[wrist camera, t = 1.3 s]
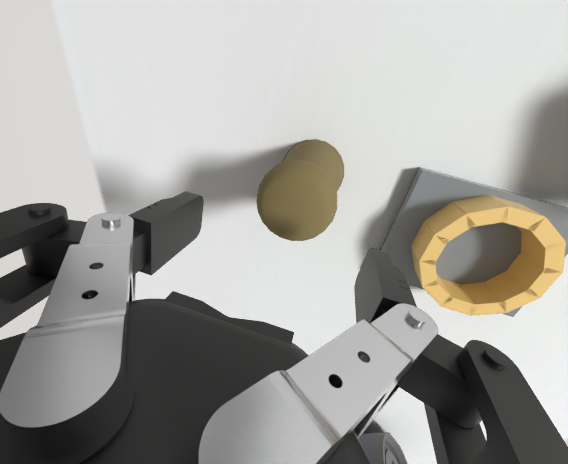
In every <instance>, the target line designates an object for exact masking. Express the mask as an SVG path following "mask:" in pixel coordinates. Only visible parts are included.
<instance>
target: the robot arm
mask: <svg viewBox="0 0 568 464" xmlns="http://www.w3.org/2000/svg"><path fill="white" fill-rule="evenodd" d="M66 211H67V210H66V208H65V207H63V206H61V205H57V204H51V203H36V204H29V205H24V206H20V207H17V208H14V209H11V210H8V211H4V212H2V213H0V258H2V257H4V256H6V255H8V254H10V253H12V252H14V251H17V250H19V249H21V248H22V251H23V254H24V258H25V262H26V265H24V266H22V267H20V268H19V269H17V270H15V271H13V272H11V273H9V274H7V275H5V276H3V277H1V278H0V328H1V327H2V326H4V325H5V324H7V323H8V322H10V321H11V320H13V319H14V318H16V317H17V316H19V315H20V314H22V313H23V312H25V311H26V310H28V309H29V308H31V307H32V306H34V305H35V304H37V303H38V302H40V301H41V300H43V299H44V298H46V297H47V296H49V297H48V300H47V302H46V305H45V307H44V310H43V312H42V315H41V317H40V320H39V322H38V324H37V325H36V326H35V327H33V328H31V329H29V330H28V331H27V332H26V333H23V334H19V335H16V336H13V337H9V338H6V339H3V340H0V464H372V463H371V461H370V459H369V457H368V455H367V453H366V452H365V450H364V448H363V446H362V444H361V443H360V441H359V438H360V436H361V435H362V434H363V432H364V431H365V430H366V428H367V427H368V426H369V424H370V423H371V422H372V421H373V419H374V418H375V417H376V416H377V415H378V413H379V412H380V411H381V410H382V409H383V407H384V406H385V405H386V404H387V403H388V401H389V400H390V399H391V398H392V397H393V395H394V394H395V393H396V392H397V391H398V389H399V388H402V389H403V390H405V391H406V392H408V393H409V394H411V395H413V396H414V397H416V398H417V399H419V400H420V401H422V402H423V403H424V405H425V410H426V414H427V419H428V424H429V428H430V433H431V437H432V442H433V446H434V451H435V455H436V460H437V464H568V447H567V445H566V443H565V442H564V440H563V439H562V437H561V435H560V434H559V432H558V431H557V429H556V427H555V426H554V424H553V423H552V421H551V420H550V418H549V416H548V415H547V413H546V412H545V410H544V408H543V407H542V405H541V404H540V402H539V400H538V399H537V397H536V396H535V394H534V393H533V391H532V389H531V388H530V386H529V385H528V383H527V381H526V380H525V378H524V377H523V375H522V373H521V372H520V370H519V369H518V367H517V366H516V365H515V364H514V362H513V361H512V360H511V359H510V358H508V357H507V356H506V355H505V354H504V353H502V352H501V351H499V350H498V349H496V348H495V347H493V346H491V345H489V344H487V343H485V342H482V341H478V340H471V341H469V342H468V343H467V344H466V346H465V347H464V348H462V347H460V346H458V345H456V344H454V343H452V342H451V341H449V340H447V339H445V338H443V337H442V336H440V335H438V334H437V333H438V327H437V325H436V323H435V321H434V320H433V319H432V318H431V317H430V316H429V315H428V314H427V313H425V312H424V311H422V310H421V309H419V308H417V306H416V304H415V301H414V298H413V296H412V293H411V290H410V288H409V285H408V284H407V280H406V277H405V275H404V273H403V272H402V271H401V270H400V269H399V268H398V267H397V266H394V265H392V262H391V259H390V256H389V253H388V252H385V251H381V250H378V249H375V248H370V249H369V251H368V253H367V255H366V258H365V260H364V262H363V264H362V267H361V269H360V271H359V273H358V276H357V279H356V282H355V305H356V322H357V324H355V325H354V326H352V327H351V328H349V329H348V330H346V331H345V332H343V333H342V334H340V335H339V336H337V337H336V338H334V339H333V340H331V341H330V342H329V343H327V344H326V345H324V346H323V347H321V348H320V349H318V350H317V351H315V352H314V353H312V354H311V355H307V354H306V353H305V352H304V351H303V350H302V349H301V348H299V347H298V346H297V345H295V344H293V343H292V339H293V335H294V332H292V331H289V330H286V329H283V328H280V327H277V326H274V325H271V324H268V323H265V322H260V321H253V320H245V319H237V318H230V317H227V316H225V315H224V314H222V313H221V312H219V311H217V310H216V309H214V308H212V307H211V306H209V305H207V304H206V303H204V302H203V301H200V300H197V299H194V298H192V297H189V296H186V295H183V294H180V293H177V292H174V291H173V292H172V293H171V294H170V295H169V296H168V297H167V298H166V299H143V300H136V301H135V288H136V273H137V272H138V271H140V272H143V273H146V274H149V275H152V274H153V273H155V272H156V271H157V270H158V269H159V268H161V267H162V266H163V265H164V264H165V263H167V262H168V261H169V260H170V259H171V258H173V257H174V256H175V255H176V254H177V253H179V252H180V251H181V250H182V249H183V248H185V247H186V246H187V245H188V244H189V243H191V242H192V241H193V240H194V239H195V238H196V237H197V236H198V234H199V232H200V229H201V222H202V211H203V197H202V196H200V195H197V194H193V193H190V192H184V193H181V194H179V195H177V196H175V197H173V198H169V199H163V200H160V201H158V202H156V203H154V205H153V204H152V205H150V206H147V208H146V207H145V208H143V209H141V210H139V211H137V212H135V213H133V214H130V215H125V214H121V213H103V214H98V215H95V216H93V217H91V218H89V219H88V221H87V222H82V221H74V220H68V216H67V212H66ZM481 421H483V423H484V426H485V429H486V434H487V442H486V440H485V437H484V434H483V432H482V429H481V427H480V424H479V422H481Z"/></svg>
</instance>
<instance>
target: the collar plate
mask: <svg viewBox="0 0 568 464" xmlns="http://www.w3.org/2000/svg"><path fill="white" fill-rule="evenodd" d="M381 251H385V252H388V253H389V256H390V259H391V262H392V265H394V266H397V267H398V268H399V269H400V270H401V271H402V272H403V273H404V275H405V277H406V280H407V284H409V285H412V286H415V287H419V288H422V289H425V290H426V291H427V292H428V293H429V294H430V295H431V296H432V297H433V298H434V299H435V300H436V302H437V303H438V304H439V305H440V306H442V307H445V308H448V309H451V310H455V311H458V312H461V313H464V314H467V315H470V316H473V315H486V314H500V313H502V314H505V315H508V316H512V317H513V316H514V315H515V314H516V313H517V312H518V311H519V309H520V308H521V307H522V306H523V305H525V304H528V303H530V302H532V301H534V300H536V299H539V297H541V296H542V295H543V294H544V293H545V292H546V291H547V289H548V288H549V287H550V286H551V285H552V284H553V283H554V282H555V280H556V279H557V278H558V277H559V276H560V275H561V274H562V273H563V266H564V257H565V256H566V255H567V254H568V208H567V207H564V206H560V205H556V204H553V203H549V202H545V201H542V200H538V199H534V198H531V197H527V196H523V195H520V194H516V193H512V192H509V191H505V190H501V189H498V188H494V187H490V186H486V185H483V184H479V183H475V182H472V181H468V180H464V179H461V178H457V177H453V176H450V175H446V174H442V173H439V172H435V171H431V170H428V169H424V168H420V167H419V169H418V171H417V174H416V176H415V178H414V180H413V182H412V184H411V186H410V189H409V191H408V193H407V195H406V197H405V199H404V201H403V203H402V206H401V208H400V210H399V212H398V214H397V216H396V218H395V220H394V223H393V225H392V227H391V229H390V231H389V233H388V235H387V237H386V240H385V242H384V244H383V246H382V248H381Z"/></svg>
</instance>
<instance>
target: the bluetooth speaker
mask: <svg viewBox="0 0 568 464" xmlns="http://www.w3.org/2000/svg"><path fill="white" fill-rule="evenodd" d="M359 441H360V443H361V444H362V446H363V448H364V450H365V452H366V453H367V455H368V457H369V459H370V461H371V463H372V464H407V461H406V459H405V456H404V454H403V451H402V449H401V448H400V446H399V445H398V443H397V442H396V441H395V439H394V438H393V437H392V436H391V435H390V433H383V432H380V433H365V434H362V435H361V436H360V438H359Z"/></svg>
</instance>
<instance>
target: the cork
mask: <svg viewBox="0 0 568 464" xmlns="http://www.w3.org/2000/svg"><path fill="white" fill-rule="evenodd" d="M343 177H344V164H343V161H342V158H341V156H340V154H339V153H338V152H337V150H336V149H335V148H334V147H333V146H331V145H330V144H328V143H327V142H324V141H320V140H317V139H315V140H305V141H303V142H300V143H298V144H296V145H295V146H294V147H293V148H291V149H290V150H289V151H288V153H287V155H286V157H285V158H284V160H283V163H282V164H279V165H277V166H276V167H274V168H273V169H272V170H271V171H270V172H268V173H267V174H266V175H265V177H264V179H263V180H262V182H261V184H260V185H259V190H258V195H257V208H258V213H259V215H260V217H261V219H262V221H263V223H264V224H265V225H266V226H267V228H268V229H269V230H270V231H271V232H273V233H274V234H276V235H278V236H279V237H281V238H284V239H288V240H291V241H304V240H308V239H311V238H314V237H316V236H317V235H319V234H320V233H322V232H323V231H324V230H325V229H326V228H327V227H328V226H329V224H330V223H331V222H332V221H333V218H334V216H335V213H336V210H337V190H338V189H339V187H340V186H341V183H342V180H343Z"/></svg>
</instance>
